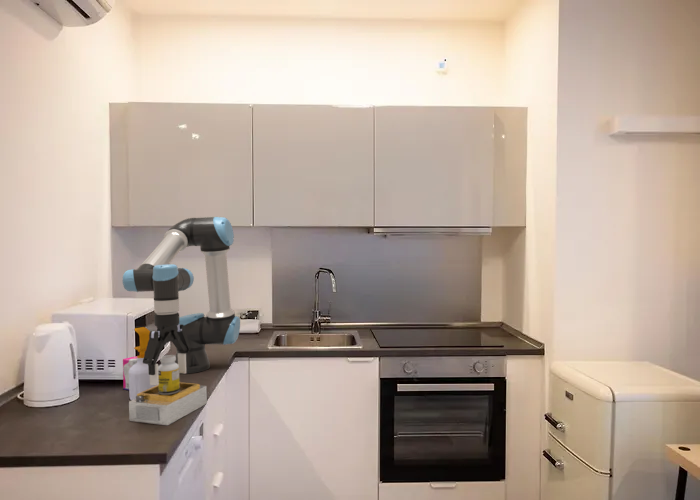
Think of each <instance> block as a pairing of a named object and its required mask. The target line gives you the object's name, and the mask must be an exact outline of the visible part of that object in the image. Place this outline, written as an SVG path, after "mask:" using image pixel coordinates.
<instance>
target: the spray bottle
mask: <svg viewBox="0 0 700 500" xmlns="http://www.w3.org/2000/svg"><path fill="white" fill-rule="evenodd" d="M133 330H134V331H135V333H137V334H138V336H139V346H134V347H133V349H134V350H136V351H137V352H138V353H139V355H137V363H136V364H134V365H133V366H132V367H131V368H130V369H129V390H128V391H129V392H128V394H129V395H128V396H129V399H130V400H129V401H131V400H134V399H136V396H137V394H138V393H140V392H143V391H145V390H147V389H150V388H152V387H154V386H157V385H150V375H149V370H148V364H144V363H143V359H144V355H145V352H146V348H147V345H148V341H149V333H150V330H149V329H148V328H147V327H146V326H142V327H135V328H134V329H133Z"/></svg>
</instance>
